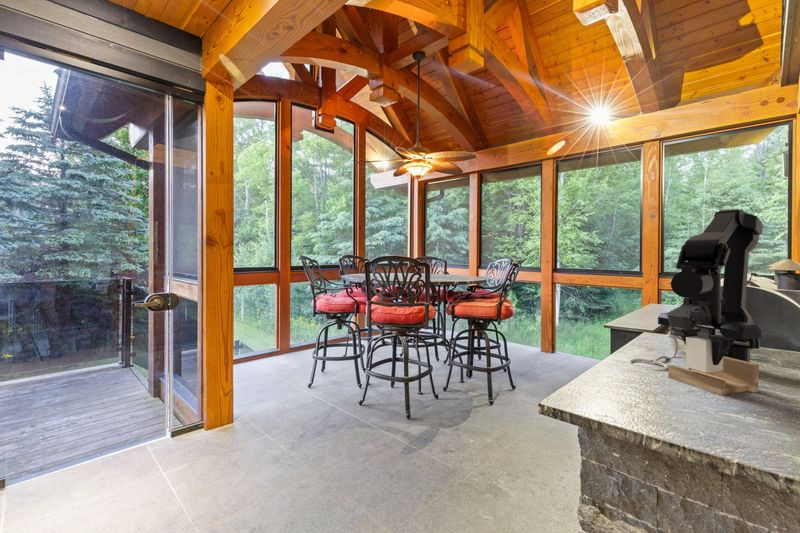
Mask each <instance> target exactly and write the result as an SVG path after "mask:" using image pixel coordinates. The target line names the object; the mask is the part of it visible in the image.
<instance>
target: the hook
mask: <svg viewBox="0 0 800 533" xmlns="http://www.w3.org/2000/svg"><path fill="white" fill-rule="evenodd" d="M667 338H672V339H673V343H674V349H673V353H672V355H670V356H667V355H660V356H657V357H655V358H652V359H649V358H641V357H640V358H637V357H636V358H631V359H630V360H628V362H627V363H628V365H630V366H632V367H636V368H640V367H641V369H644V368H645V370H649V371H656V372H665V371H668V364H666V363H664V362H662V361H660V360H662V359H665V360H666V361H667V360H671V359H674V358H676V356H677V354H678V349H679V342H678V338H677V337H676V335H673V334H669V335H667ZM634 362H644V363H649V364H651V363H653V364H655V365H659V366H663V367H662V368H649V367H646V366H642V365H636V364H635V363H634ZM633 363H634V364H633Z"/></svg>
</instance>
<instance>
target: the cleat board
mask: <svg viewBox="0 0 800 533" xmlns="http://www.w3.org/2000/svg"><path fill="white" fill-rule="evenodd" d="M759 365H760V364H758V363H755V362H754V363H753V362H751V361H750V362H746V361H742V360H738V359H734V358H729V357H725V356H723V370H721V371H714V372H707V373H706V372H702V371H699V370H695V369H692V368H688V369H687V368H683V367H681V366H678V365H674V364H670V365H668V364H667V366H668V370H667V371H668V372H667V373H668V374H667V375H668V376H667V377H668V379H672V380H675V381H679V382H680V383H684V384H687V385H690V386H693V387H696V388H699V389H702V390H705V391H707V392H711V393H714V394H717V395H719V396H725V395H729V394H735V393H736V394H737V393H743V392H749V393H759V385H760V384H759V380H760V379H759V375H760V374H759V369H760V368H759Z"/></svg>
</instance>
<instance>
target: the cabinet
mask: <svg viewBox="0 0 800 533" xmlns="http://www.w3.org/2000/svg"><path fill="white" fill-rule="evenodd" d="M709 335H711V334H709V332H703V331H701V332H697V336H690V337H686V346H685V367H686V368H688V369H689V368H692V369H695V370H699V371H702V372H706V373H707V372H714V371H721V370H723V358H722V360H721V361H720V363H719V364H718V365H713V361H712V341H711V340H710V338H709V337H708V336H709Z"/></svg>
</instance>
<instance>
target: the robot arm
mask: <svg viewBox="0 0 800 533" xmlns="http://www.w3.org/2000/svg"><path fill="white" fill-rule="evenodd" d="M762 234H763V223H762V221H761V219H760V218H759V217H758V216H757V215H754V214H750V213H746V212H745V211H744V210H743V209H739V208H734V209H733V208H732V209H731V208H730V209H724V210H723V209H722V210H721V209H720V210H718V211H716V212H715V213H714V216H713V219H712V220H711V221H710V222H709V224H708V225H707V227H706V228H705V229H704V230H703V232H702V233H700V234H696V235H693V236H690V238H688V239H687V240H686V241H685V242H684V244H683V245H681V249H680V252H679V256H678V258H677V262H676V266H675V268H676V270H680V272H677V273H676V274H675V275H674V276H673V277H672V279H671V281H670V287H671V290H672V291H673V293H674V294H675V295H677V296H678V297H681V298H683V300H682V305H681V306H678V307H675V308H674V309H673V310H670V311H668V312H661V313H660V314H659V315H658V317H657V325H661V326H664V327H665V326H666V327H671V328H670V329H671V330H672V331H674V332H676V333H677V334H678V335H679V336H680V337H681V339H682V341H683V343H684V345H685V347H686V337H690V336H697V332H702V331H701V330H702V329H704V330H705V329H706V330H708V333H709V334H711V335H709V336H708V337H709V338H710V340H711V341H712V361H713V365H718V364H719V363H720V361H721V360H722V358H723V356H725V357H729V358H734V359H738V360H742V361H746V362H750V363H751V361H750V360H751V356H750V355H751V353H750V352H751V350H755V349H756V350H758V349H760V347H761V346H760V345H761V344H760V343H761V342H760V339H761V338H762V330H761V328H760V327H759V325H758V324H756V323H753V321H754V320H753V317H752V316H751V314H750V312H748V310H747V309H746V301H747V300H746V298H747V288H748V287H747V285H748V284H747V283H748V272H749V258H750V257H749V256H750V252H751V251H752V250H753V249H754V248H755V247H756V246H757V245H758V244H759V238H760V236H761V235H762ZM723 268H724V271H723V283H722V282H721V281H722V274H721V272H722V269H723ZM721 283H722V284H721ZM721 286H722V287H721ZM721 290H722V291H721ZM721 292H722V294H721ZM721 295H722V296H721Z"/></svg>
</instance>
